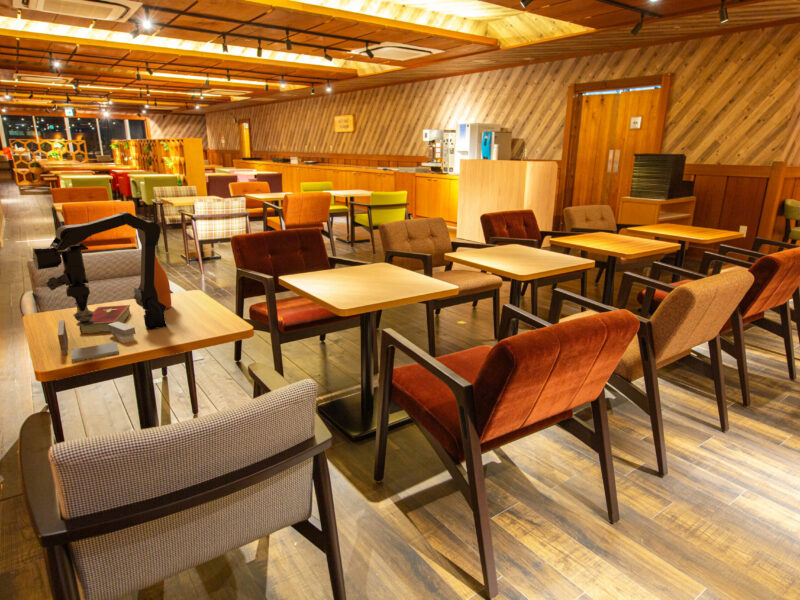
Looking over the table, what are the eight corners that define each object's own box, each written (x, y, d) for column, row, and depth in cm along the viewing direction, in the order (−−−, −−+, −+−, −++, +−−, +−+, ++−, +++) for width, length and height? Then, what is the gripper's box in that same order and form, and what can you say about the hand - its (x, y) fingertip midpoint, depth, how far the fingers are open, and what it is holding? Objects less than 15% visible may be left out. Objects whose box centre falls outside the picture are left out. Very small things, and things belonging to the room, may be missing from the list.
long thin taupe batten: (68, 338, 175) (64, 320, 173) (67, 354, 162) (63, 334, 160) (62, 339, 174) (58, 320, 172) (62, 355, 161) (57, 335, 159)
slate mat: (116, 344, 170) (116, 341, 170) (118, 353, 163) (118, 350, 162) (72, 352, 163) (71, 349, 163) (71, 362, 156) (71, 359, 156)
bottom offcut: (125, 332, 182) (124, 326, 182) (134, 341, 174) (133, 335, 173) (113, 334, 180) (112, 328, 179) (122, 344, 171) (120, 337, 171)
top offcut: (119, 327, 180) (117, 321, 180) (135, 333, 174) (134, 327, 174) (108, 330, 177) (107, 324, 177) (125, 336, 172) (124, 330, 171)
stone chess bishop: (85, 326, 166) (79, 292, 162) (70, 325, 167) (63, 291, 164) (99, 321, 172) (93, 287, 168) (84, 319, 173) (78, 286, 169)
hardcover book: (80, 334, 180) (78, 323, 179) (98, 316, 199) (97, 306, 198) (117, 332, 183) (115, 321, 181) (131, 314, 202) (129, 304, 201)
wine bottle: (151, 304, 212) (141, 235, 203) (175, 304, 213) (166, 235, 204) (142, 312, 203) (131, 239, 194) (167, 311, 204) (157, 239, 195)
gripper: (45, 261, 167) (54, 306, 171) (42, 273, 152) (53, 321, 156) (84, 258, 172) (92, 301, 177) (85, 269, 157) (94, 315, 162)
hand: (82, 309), depth 168 cm, fingers closed on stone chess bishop, 3 cm apart
